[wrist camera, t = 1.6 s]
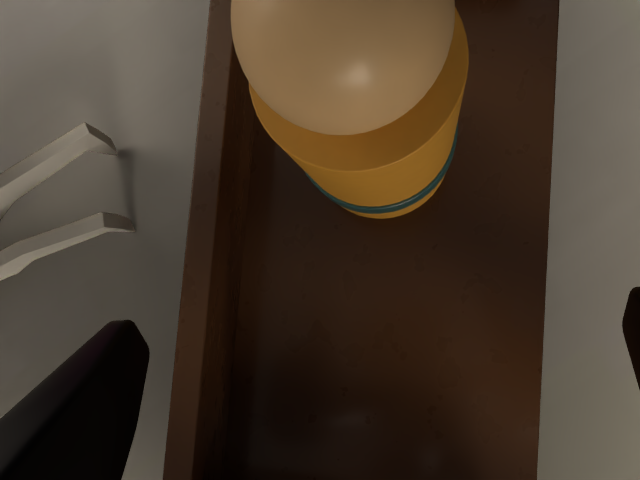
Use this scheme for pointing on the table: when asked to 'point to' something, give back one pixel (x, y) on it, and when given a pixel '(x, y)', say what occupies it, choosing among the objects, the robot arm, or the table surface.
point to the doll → (358, 93)
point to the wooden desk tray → (369, 288)
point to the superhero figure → (34, 171)
